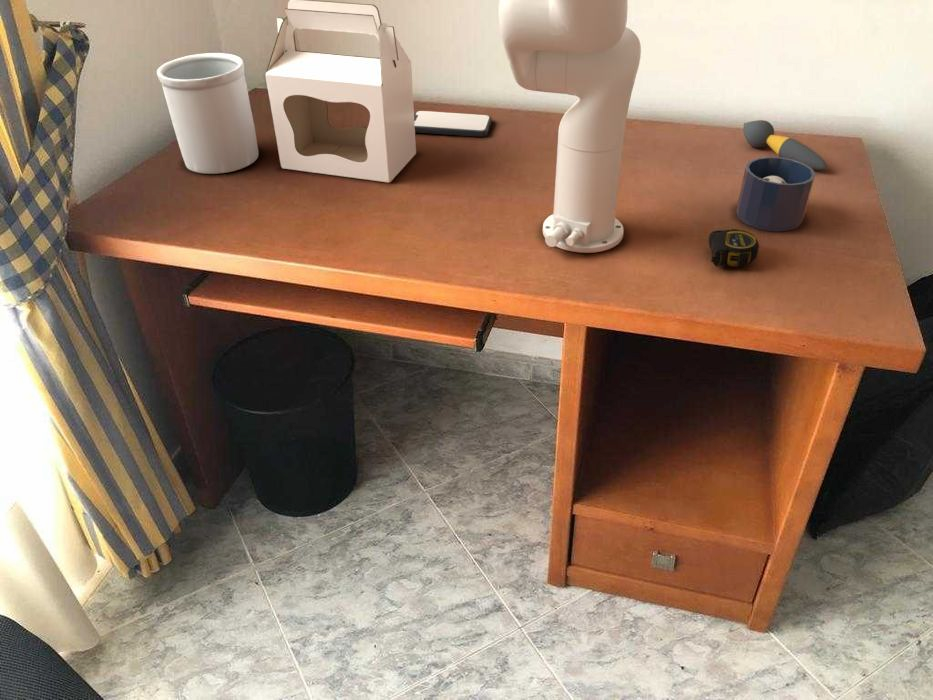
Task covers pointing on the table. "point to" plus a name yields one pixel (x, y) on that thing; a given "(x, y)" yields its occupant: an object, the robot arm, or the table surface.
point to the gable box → (340, 95)
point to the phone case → (452, 123)
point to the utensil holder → (210, 111)
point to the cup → (774, 194)
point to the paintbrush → (781, 144)
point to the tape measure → (733, 247)
